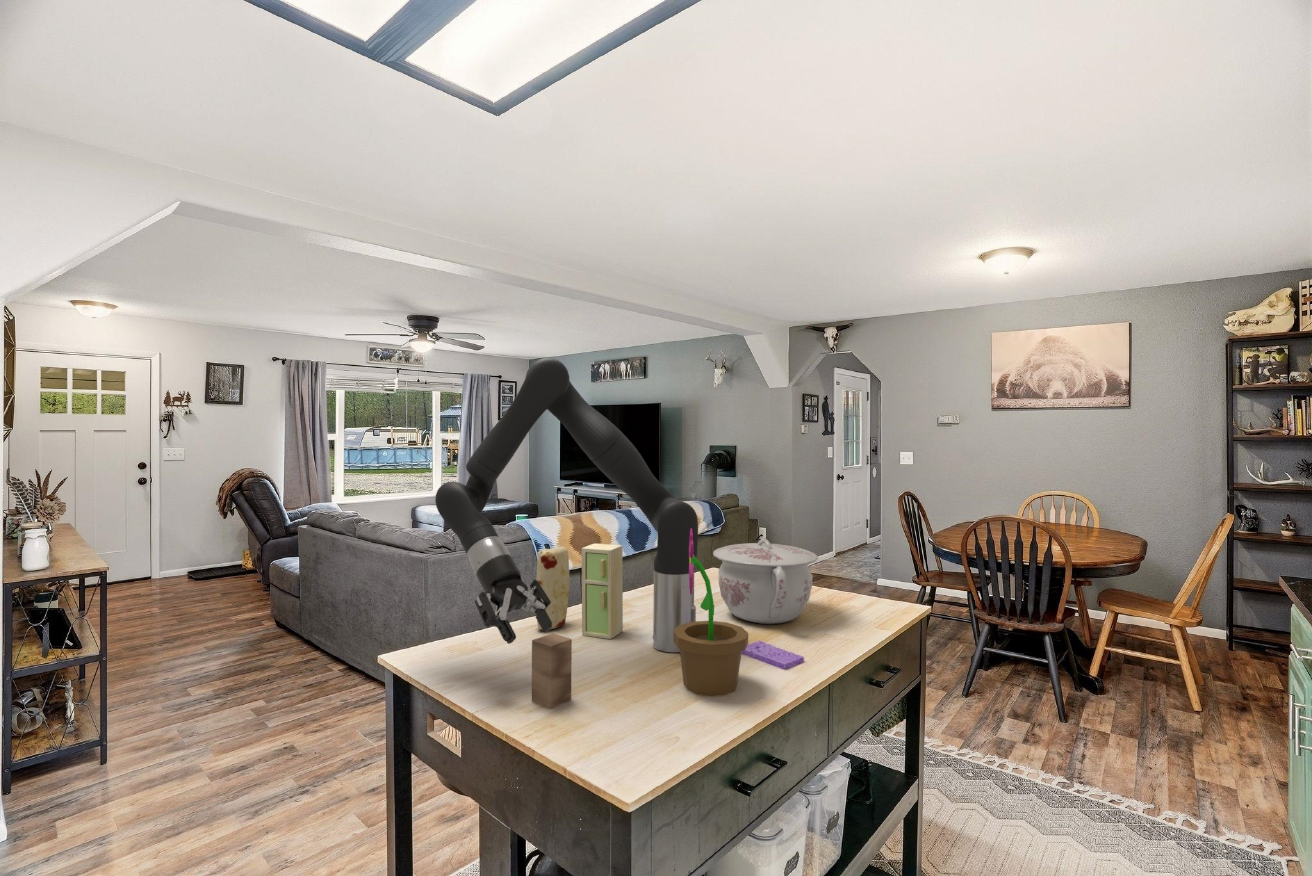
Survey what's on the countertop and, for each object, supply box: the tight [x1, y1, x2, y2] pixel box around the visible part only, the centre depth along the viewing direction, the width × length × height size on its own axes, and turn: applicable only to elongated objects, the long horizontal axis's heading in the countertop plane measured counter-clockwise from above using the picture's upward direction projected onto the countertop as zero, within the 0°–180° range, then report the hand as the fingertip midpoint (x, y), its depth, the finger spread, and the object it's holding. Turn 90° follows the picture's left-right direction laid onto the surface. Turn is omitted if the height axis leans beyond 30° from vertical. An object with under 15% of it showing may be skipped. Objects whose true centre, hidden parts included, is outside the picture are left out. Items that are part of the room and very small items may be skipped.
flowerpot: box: [673, 528, 749, 697], centre depth 119 cm, size 14×14×30 cm
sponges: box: [741, 640, 805, 670], centre depth 134 cm, size 7×13×2 cm, turn 40°
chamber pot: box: [712, 538, 819, 625], centre depth 164 cm, size 28×28×21 cm
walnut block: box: [531, 633, 573, 710], centre depth 112 cm, size 5×5×11 cm
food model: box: [535, 545, 570, 631], centre depth 153 cm, size 10×7×20 cm
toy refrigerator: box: [581, 543, 624, 640], centre depth 149 cm, size 8×7×21 cm
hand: (531, 634), depth 115 cm, fingers open, 8 cm apart
